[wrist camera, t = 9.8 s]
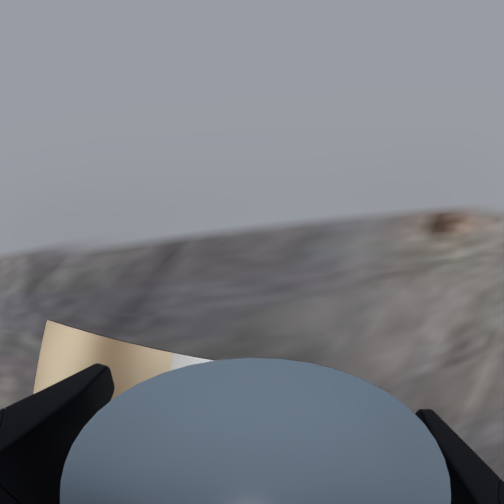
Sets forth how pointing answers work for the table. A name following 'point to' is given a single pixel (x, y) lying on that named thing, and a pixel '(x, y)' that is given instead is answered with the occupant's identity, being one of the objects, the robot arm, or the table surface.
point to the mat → (101, 358)
